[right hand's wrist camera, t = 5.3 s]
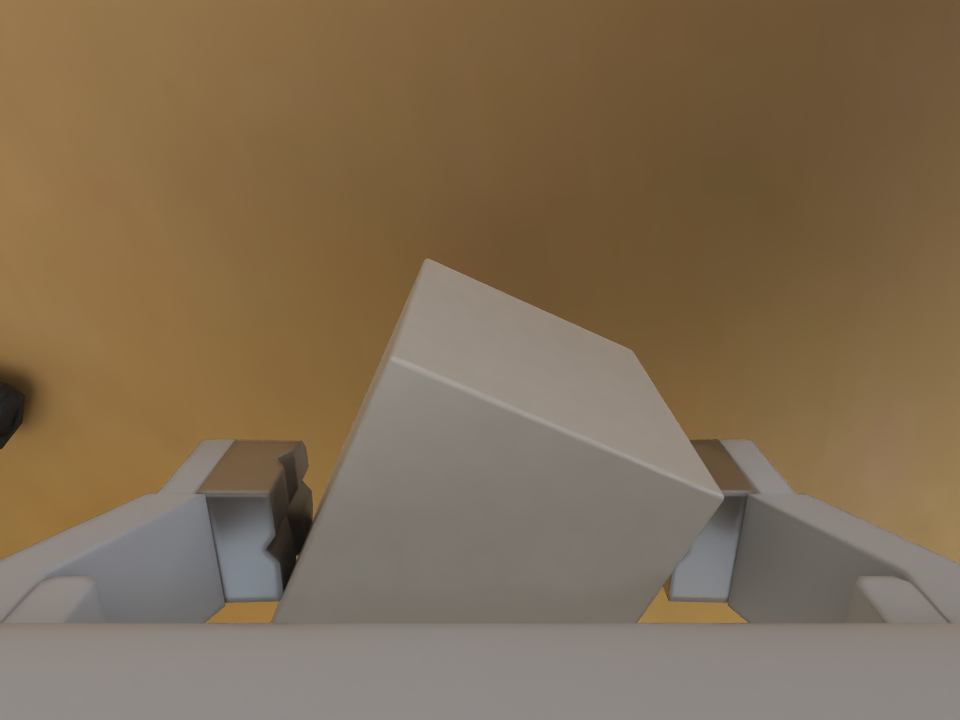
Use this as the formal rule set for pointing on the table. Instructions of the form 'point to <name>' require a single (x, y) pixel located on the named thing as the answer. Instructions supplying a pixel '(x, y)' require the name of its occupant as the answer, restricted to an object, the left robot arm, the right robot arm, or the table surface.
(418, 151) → the table surface
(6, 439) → the toy gun
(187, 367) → the table surface
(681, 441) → the block
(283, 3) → the table surface
